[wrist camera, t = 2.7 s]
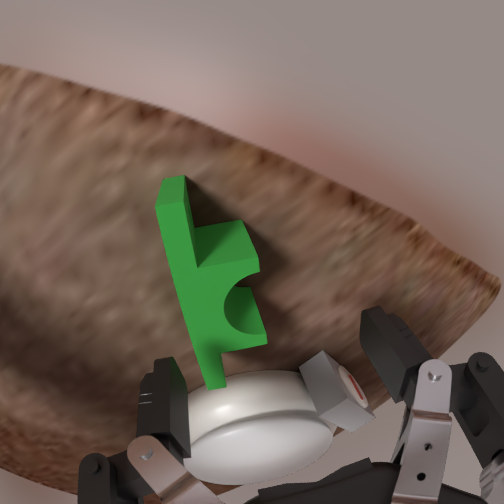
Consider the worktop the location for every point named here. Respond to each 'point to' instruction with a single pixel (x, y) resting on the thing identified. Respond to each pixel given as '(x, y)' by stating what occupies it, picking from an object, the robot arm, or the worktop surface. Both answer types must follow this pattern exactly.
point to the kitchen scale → (271, 421)
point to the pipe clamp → (210, 280)
